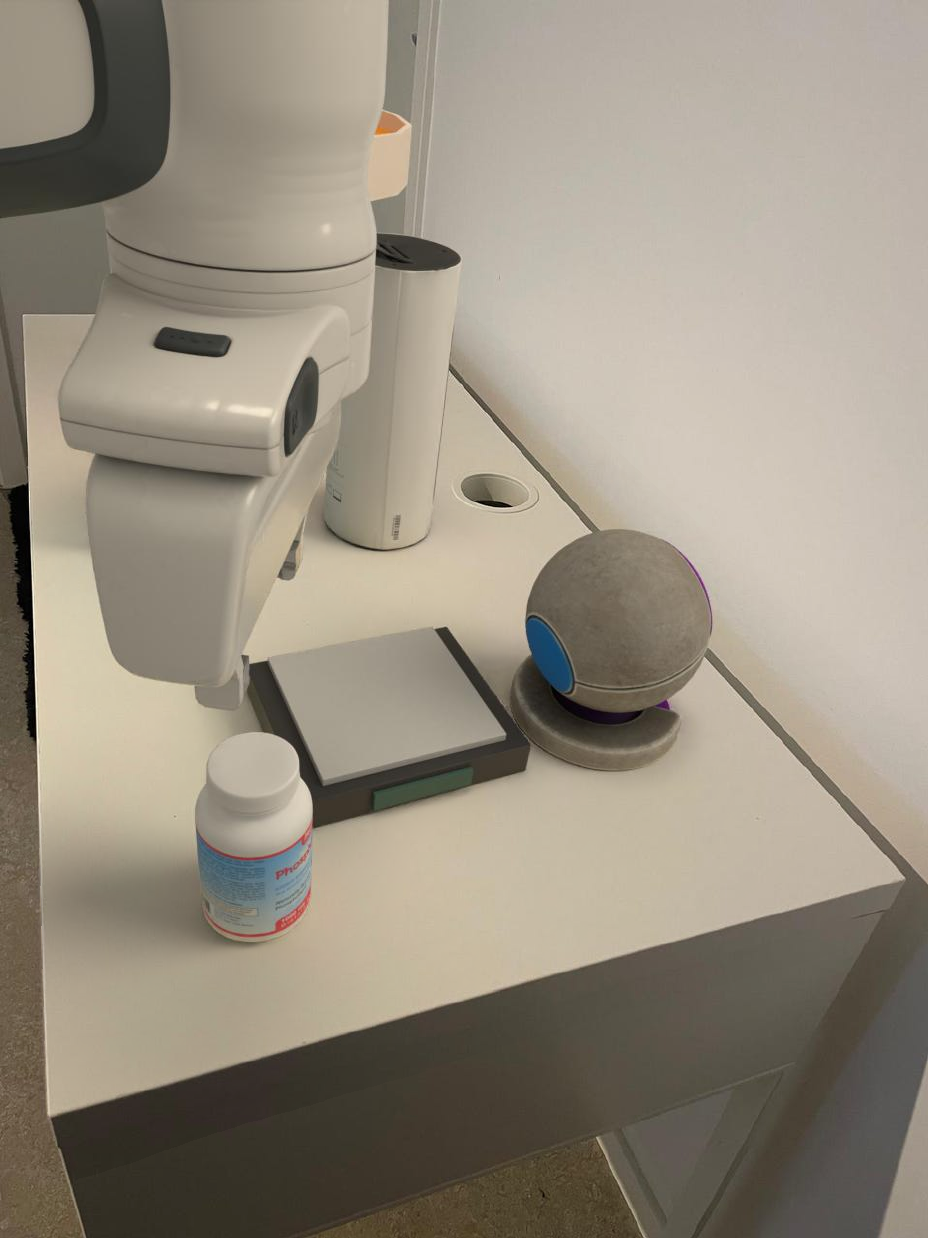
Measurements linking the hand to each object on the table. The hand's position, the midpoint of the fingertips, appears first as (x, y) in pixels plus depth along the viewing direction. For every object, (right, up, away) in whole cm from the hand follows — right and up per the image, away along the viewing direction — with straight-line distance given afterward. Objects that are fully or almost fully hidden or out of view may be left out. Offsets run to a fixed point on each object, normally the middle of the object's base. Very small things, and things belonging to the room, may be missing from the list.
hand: (255, 628), depth 40 cm
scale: (+4, -7, +24) cm, 26 cm away
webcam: (+19, -7, +29) cm, 35 cm away
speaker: (+1, +10, +47) cm, 48 cm away
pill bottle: (-3, -16, +12) cm, 20 cm away
